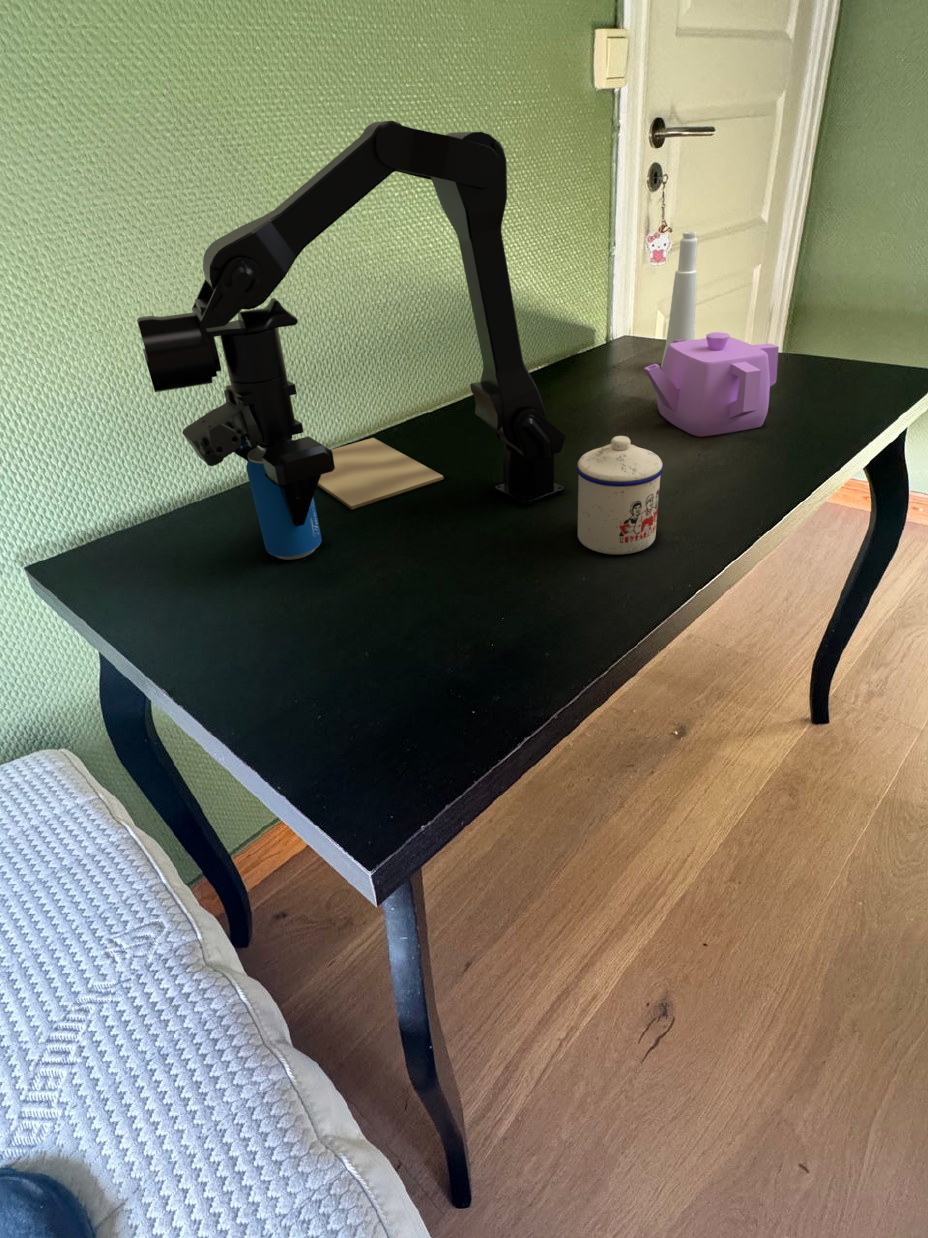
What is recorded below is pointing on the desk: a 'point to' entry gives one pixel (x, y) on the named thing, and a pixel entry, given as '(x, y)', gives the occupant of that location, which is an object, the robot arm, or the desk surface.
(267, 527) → the beverage can
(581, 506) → the teacup with lid
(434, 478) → the board
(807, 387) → the desk surface
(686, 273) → the cosmetic bottle
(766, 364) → the teakettle
